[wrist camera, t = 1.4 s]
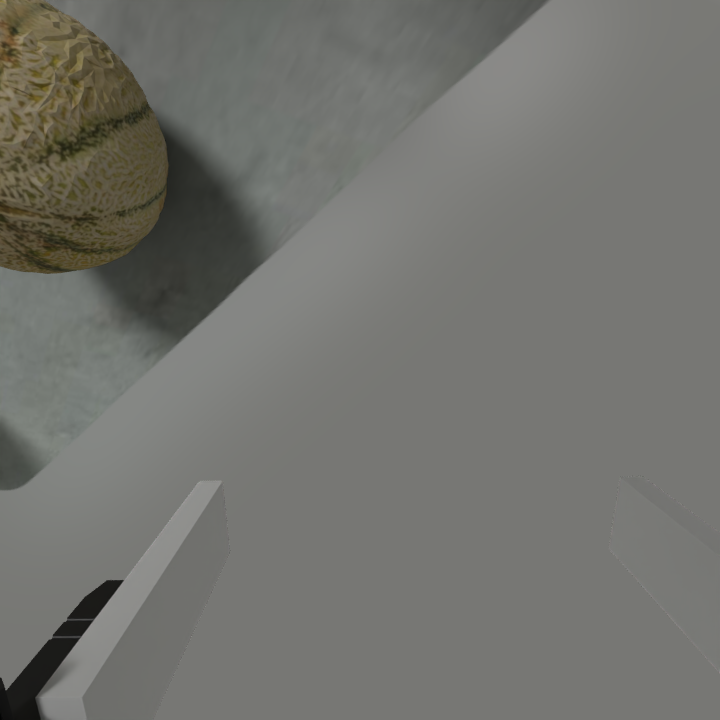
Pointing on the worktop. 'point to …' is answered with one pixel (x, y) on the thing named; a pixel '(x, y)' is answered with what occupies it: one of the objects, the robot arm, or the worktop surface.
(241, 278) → the worktop surface
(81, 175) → the cantaloupe
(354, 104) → the worktop surface
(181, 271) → the worktop surface
